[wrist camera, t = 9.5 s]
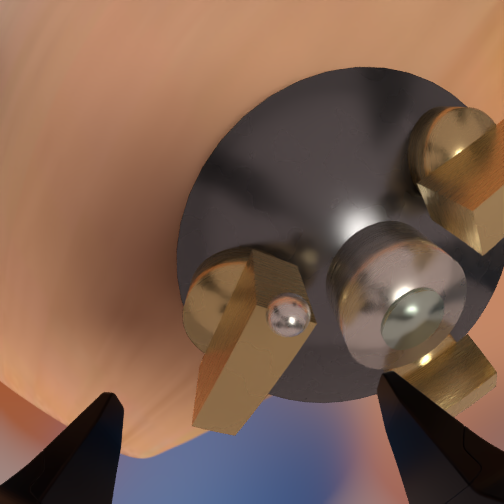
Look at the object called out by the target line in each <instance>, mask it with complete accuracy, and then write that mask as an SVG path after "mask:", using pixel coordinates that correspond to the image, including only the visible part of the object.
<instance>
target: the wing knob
mask: <svg viewBox="0 0 504 504" xmlns="http://www.w3.org/2000/svg"><path fill="white" fill-rule="evenodd" d="M183 324H184V328H185V331H186V333H187V335H188V337H189V338H190V340H191V341H192V342H193V343H194V345H195V346H196V347H197V348H199V349H200V350H201V351H202V352H204V353H205V355H204V357H203V359H202V362H201V364H200V367H199V374H198V382H197V389H196V397H195V404H194V412H193V420H192V426H194V427H198V428H202V429H206V430H210V431H215V432H220V433H225V434H229V435H236V434H237V433H238V431H239V430H240V429H241V428H242V426H243V425H244V424H245V423H246V422H247V420H248V419H249V418H250V416H251V415H252V414H253V413H254V411H255V410H256V409H257V407H258V406H259V405H260V404H261V402H262V401H263V400H264V398H265V397H266V396H267V394H268V393H269V392H270V390H271V389H272V388H273V386H274V385H275V384H276V382H277V381H278V379H279V378H280V377H281V375H282V374H283V373H284V371H285V370H286V368H287V367H288V366H289V364H290V363H291V361H292V360H293V358H294V357H295V356H296V354H297V353H298V351H299V350H300V348H301V347H302V345H303V344H304V342H305V341H306V339H307V338H308V336H309V335H310V333H311V332H312V330H313V329H314V327H315V326H316V324H317V322H316V319H315V316H314V313H313V310H312V307H311V304H310V301H309V298H308V295H307V292H306V290H305V287H304V284H303V281H302V278H301V275H300V272H299V269H298V266H297V265H294V264H292V263H289V262H286V261H284V260H281V259H278V258H277V257H275V256H273V255H272V254H270V253H268V252H265V251H263V250H259V249H255V248H249V247H237V248H230V249H226V250H223V251H220V252H218V253H215V254H213V255H212V256H210V257H209V258H207V259H206V260H205V261H204V262H202V264H201V265H200V266H199V267H198V268H197V270H196V271H195V273H194V275H193V277H192V280H191V283H190V287H189V290H188V294H187V297H186V301H185V304H184V308H183Z"/></svg>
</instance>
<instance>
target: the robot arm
mask: <svg viewBox="0 0 504 504" xmlns="http://www.w3.org/2000/svg"><path fill="white" fill-rule="evenodd" d="M377 395H378V399H379V403H380V408H381V412H382V417H383V421H384V426H385V430H386V433H387V436H388V439H389V442H390V445H391V448H392V451H393V454H394V457H395V460H396V463H397V466H398V469H399V472H400V475H401V478H402V481H403V485H404V488H405V491H406V494H407V498H408V501H409V504H504V451H502V450H500V449H499V448H497V447H495V446H493V445H492V444H490V443H488V442H487V441H485V440H484V439H482V438H480V437H479V436H478V435H476V434H475V433H474V432H472V431H471V430H470V429H468V428H467V427H466V426H464V425H463V424H462V423H460V422H459V421H458V420H456V419H455V418H454V417H453V416H451V415H450V414H449V413H447V412H446V411H445V410H444V409H442V408H441V407H440V406H438V405H437V404H436V403H435V402H433V401H432V400H431V399H429V398H428V397H427V396H426V395H424V394H423V393H422V392H420V391H419V390H418V389H416V388H415V387H414V386H413V385H411V384H410V383H409V382H407V381H406V380H405V379H404V378H402V377H401V376H400V375H398V374H397V373H396V372H394V371H389V372H384V373H382V374H381V377H380V380H379V384H378V387H377ZM123 418H124V408H123V406H122V404H121V403H120V401H119V399H118V398H117V396H116V395H115V394H114V393H110V392H104V393H102V394H101V395H100V396H99V397H98V398H97V399H96V400H95V401H94V402H93V403H92V404H90V405H89V406H88V407H87V408H86V409H85V410H84V411H83V412H82V413H81V414H80V415H79V416H78V417H77V418H76V419H75V420H74V421H73V422H72V423H71V424H70V425H69V426H68V427H67V428H66V429H65V430H63V431H62V432H61V433H60V435H58V436H57V437H56V438H55V439H54V440H53V441H52V442H51V443H50V444H49V445H48V446H47V447H46V448H45V449H44V450H43V451H42V452H40V453H39V454H38V455H37V456H36V457H35V458H34V459H33V460H32V461H31V462H30V463H29V464H28V465H26V466H25V467H24V468H23V469H21V470H20V471H19V472H17V473H16V474H15V475H14V476H12V477H11V478H9V479H8V480H7V481H5V482H4V483H3V484H1V485H0V504H112V498H113V491H114V485H115V478H116V472H117V467H118V461H119V456H120V450H121V442H122V429H123Z"/></svg>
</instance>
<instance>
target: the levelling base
mask: <svg viewBox="0 0 504 504" xmlns="http://www.w3.org/2000/svg"><path fill="white" fill-rule="evenodd" d="M237 247H249V248H255V249H259V250H263V251H265V252H268V253H270V254H272V255H273V256H275V257H277V258H278V259H281V260H284V261H286V262H289V263H292V264H294V265H297V266H298V269H299V272H300V275H301V278H302V281H303V284H304V287H305V290H306V292H307V295H308V298H309V301H310V304H311V307H312V310H313V313H314V316H315V319H316V322H317V324H316V326H315V327H314V329H313V330H312V332H311V333H310V335H309V336H308V338H307V339H306V341H305V342H304V344H303V345H302V347H301V348H300V350H299V351H298V353H297V354H296V356H295V357H294V358H293V360H292V361H291V363H290V364H289V366H288V367H287V368H286V370H285V371H284V373H283V374H282V375H281V377H280V378H279V379H278V381H277V382H276V384H275V385H274V386H273V388H272V389H271V390H270V392H269V393H268V394H270V395H273V396H277V397H281V398H285V399H289V400H295V401H302V402H315V403H329V402H343V401H348V400H355V399H360V398H364V397H368V396H371V395H375V394H377V387H378V384H379V380H380V377H381V374H382V373H384V372H389V371H394V372H396V373H397V374H398V375H400V376H401V377H402V378H404V379H405V380H406V381H407V382H409V383H410V384H411V385H413V386H414V387H415V388H416V389H418V390H419V391H420V392H422V393H423V394H424V395H426V396H427V397H428V398H429V399H431V400H432V401H433V402H435V403H436V404H437V405H438V406H440V407H441V408H442V409H444V410H445V411H446V412H447V413H449V414H450V415H451V416H453V417H455V416H456V415H458V414H459V413H461V412H462V411H464V410H465V409H466V408H468V407H469V406H471V405H472V404H474V403H475V402H476V401H478V400H479V399H480V398H482V397H483V396H484V395H486V394H487V393H488V392H489V391H491V390H492V389H493V388H494V387H496V379H497V372H496V371H495V369H494V368H493V366H492V365H491V364H490V362H489V361H488V360H487V359H486V357H485V356H484V354H483V353H482V352H481V351H480V349H479V348H478V347H477V345H476V344H475V343H474V342H473V340H472V339H471V338H470V337H469V335H468V334H467V333H468V331H469V330H470V329H471V328H472V327H473V325H474V324H475V323H476V321H477V320H478V318H479V317H480V315H481V314H482V312H483V311H484V309H485V308H486V306H487V304H488V302H489V300H490V299H491V297H492V295H493V293H494V291H495V288H496V286H497V284H498V281H499V279H500V276H501V274H502V271H503V267H504V120H502V121H501V122H500V123H498V124H497V125H496V124H495V123H494V121H493V120H492V119H491V118H490V117H489V116H488V115H487V114H485V113H484V112H482V111H481V110H478V109H475V108H468V107H467V106H465V105H464V104H463V103H462V102H461V101H460V100H459V99H457V98H456V97H455V96H454V95H453V94H451V93H450V92H448V91H446V90H445V89H443V88H441V87H440V86H438V85H436V84H435V83H433V82H431V81H428V80H426V79H423V78H421V77H418V76H416V75H413V74H410V73H407V72H402V71H397V70H392V69H387V68H374V67H354V68H347V69H340V70H334V71H328V72H324V73H321V74H318V75H315V76H312V77H309V78H306V79H303V80H301V81H298V82H296V83H294V84H292V85H290V86H288V87H286V88H285V89H283V90H281V91H279V92H277V93H275V94H273V95H272V96H270V97H269V98H267V99H266V100H265V101H263V102H262V103H261V104H259V105H258V106H257V107H255V108H254V109H253V110H251V111H250V112H249V113H248V114H246V115H245V116H244V117H243V118H242V119H241V120H240V121H239V122H238V123H237V124H236V125H235V126H234V127H233V128H232V129H231V130H230V131H229V132H228V134H227V135H226V136H225V137H224V138H223V139H222V140H221V141H220V143H219V144H218V146H217V147H216V148H215V150H214V151H213V153H212V154H211V156H210V157H209V159H208V160H207V161H206V163H205V164H204V166H203V168H202V170H201V172H200V174H199V176H198V178H197V180H196V182H195V184H194V186H193V188H192V190H191V192H190V194H189V197H188V201H187V204H186V207H185V210H184V214H183V217H182V220H181V224H180V231H179V238H178V245H177V277H178V283H179V289H180V295H181V300H182V303H183V306H184V304H185V301H186V297H187V294H188V290H189V287H190V283H191V280H192V277H193V275H194V273H195V271H196V270H197V268H198V267H199V266H200V265H201V264H202V262H204V261H205V260H206V259H207V258H209V257H210V256H212V255H213V254H215V253H218V252H220V251H223V250H226V249H230V248H237ZM466 334H467V335H466ZM465 335H466V336H465Z"/></svg>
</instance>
